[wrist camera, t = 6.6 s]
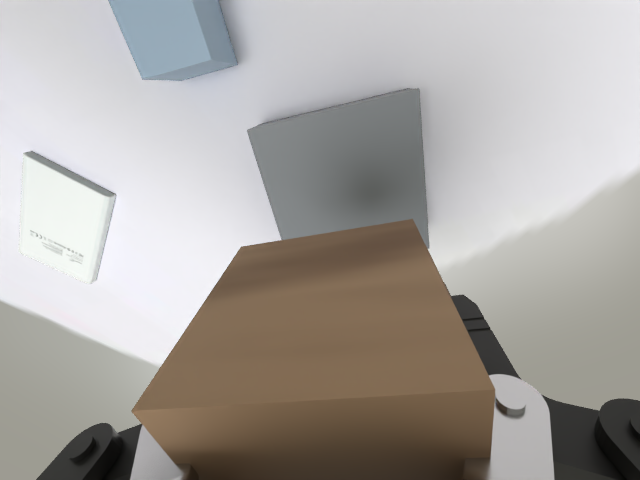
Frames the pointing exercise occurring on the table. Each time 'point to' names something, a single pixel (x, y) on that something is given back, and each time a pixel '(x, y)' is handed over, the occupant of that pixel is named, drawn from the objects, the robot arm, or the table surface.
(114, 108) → the table surface
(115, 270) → the table surface
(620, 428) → the robot arm
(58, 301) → the table surface
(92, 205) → the external hard drive
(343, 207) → the base plinth
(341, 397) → the walnut cube
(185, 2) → the blue cube
